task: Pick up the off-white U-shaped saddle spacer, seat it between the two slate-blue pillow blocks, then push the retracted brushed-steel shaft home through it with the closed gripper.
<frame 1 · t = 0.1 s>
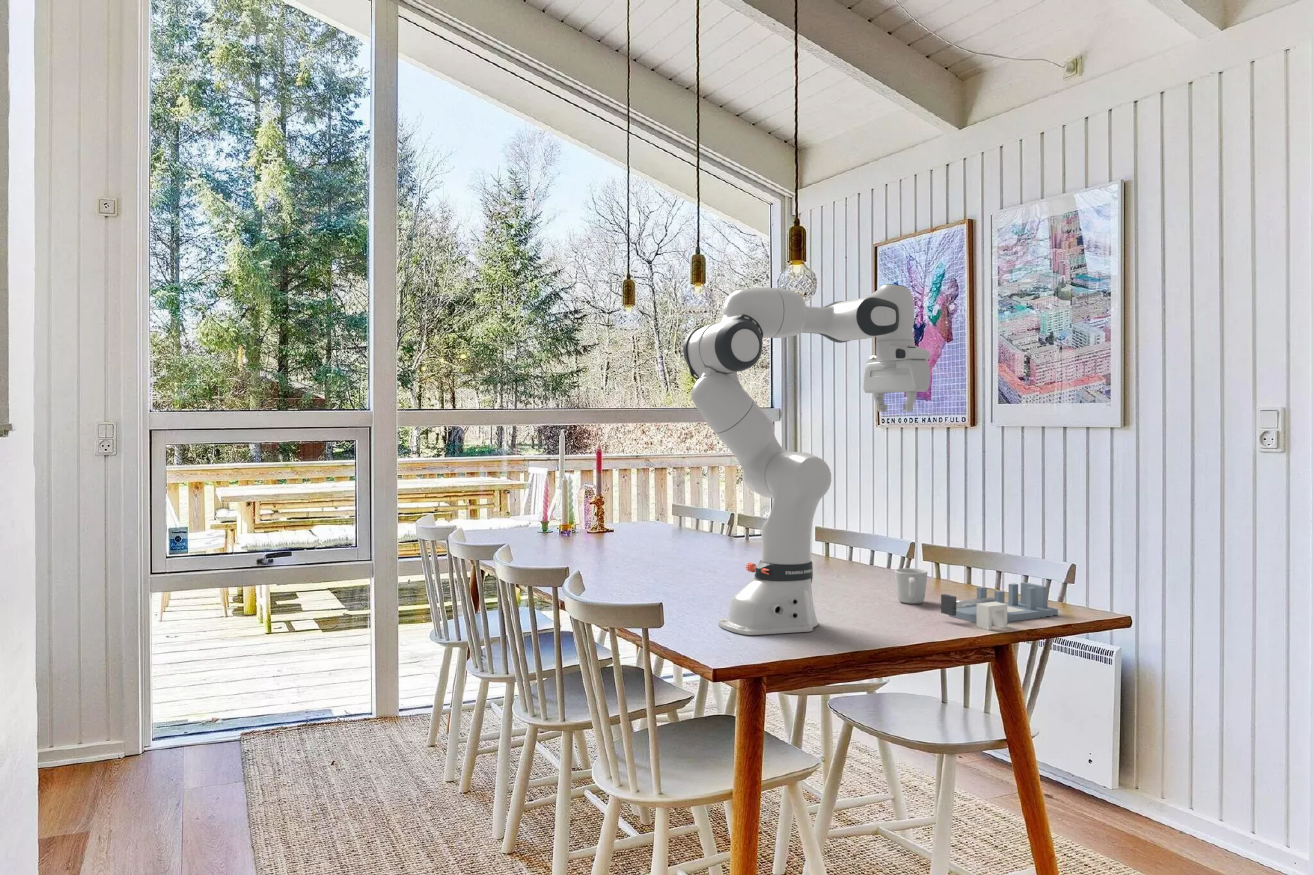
hand: (894, 411, 226), 48 cm above the table, fingers open, 8 cm apart
shaft: (969, 602, 217), point 4 cm above the table, slide at 0.0 cm
cup: (911, 604, 237), on the table
spacer: (991, 627, 210), on the table
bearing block: (1004, 615, 222), on the table
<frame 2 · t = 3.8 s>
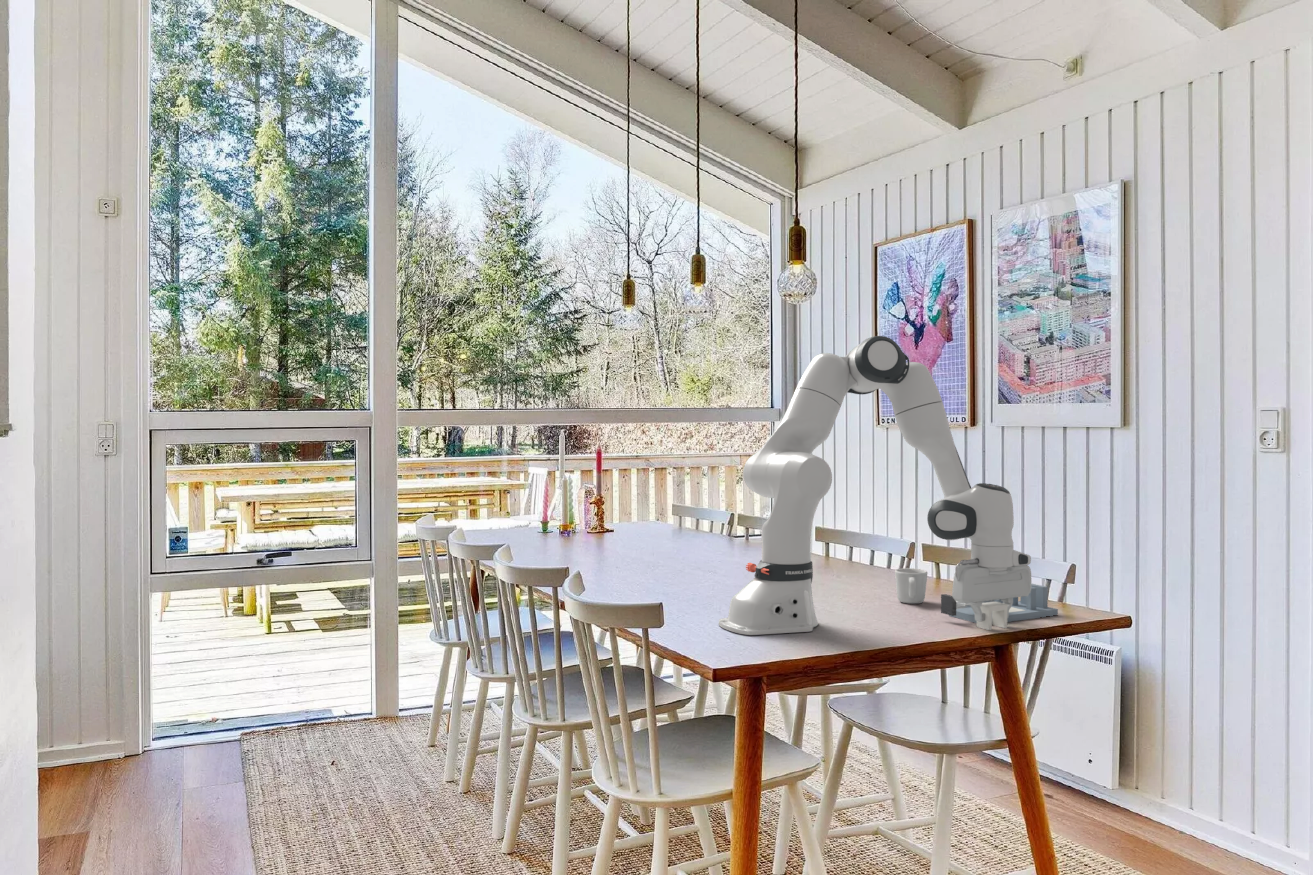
hand: (991, 619, 210), 2 cm above the table, fingers closed on spacer, 5 cm apart
spacer: (991, 627, 210), on the table, touching gripper
everything else where it was.
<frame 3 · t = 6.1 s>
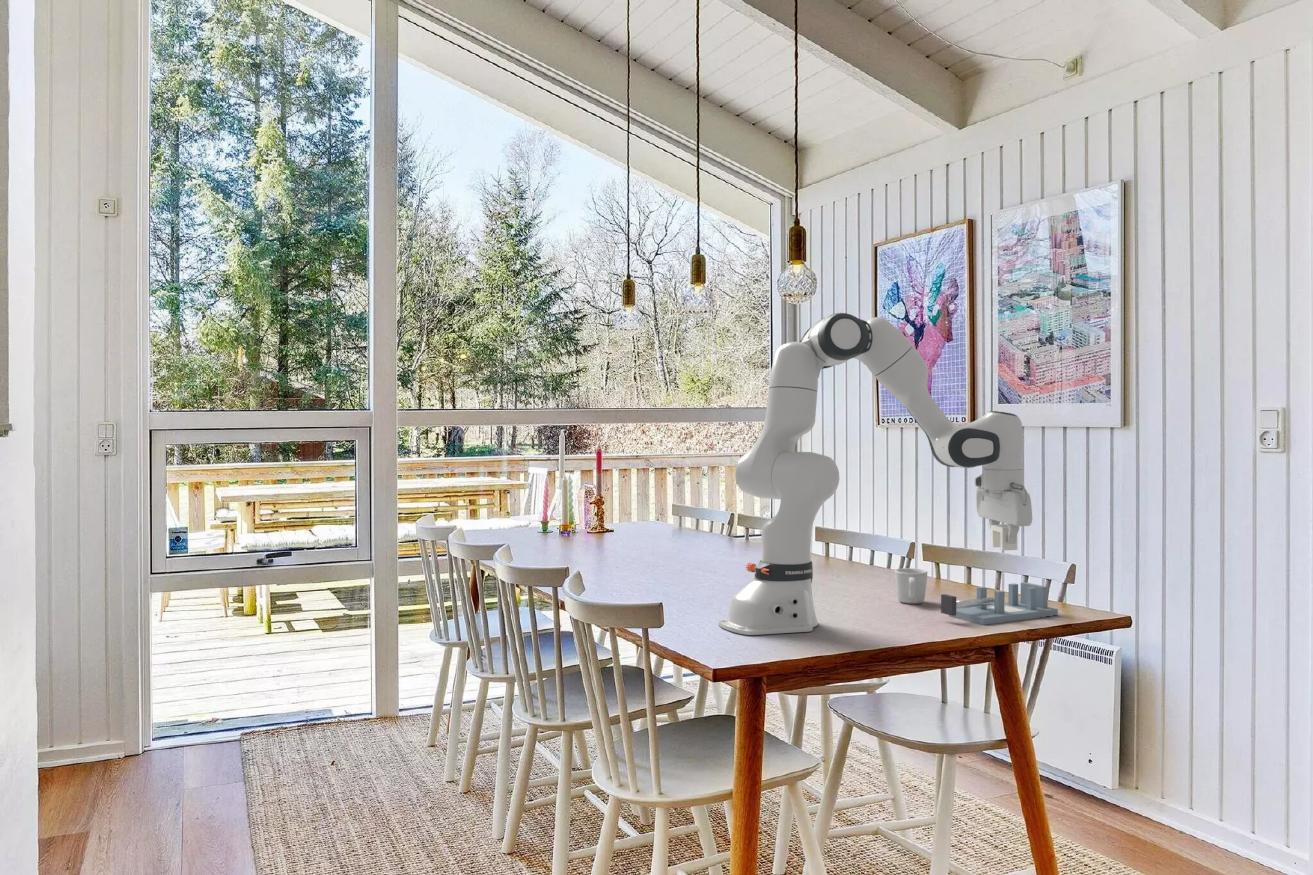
hand: (1003, 541, 219), 18 cm above the table, fingers closed on spacer, 5 cm apart
spacer: (1004, 548, 219), point 16 cm above the table, touching gripper
everything else where it was.
when the fingers open (4 cm above the table, at t = 8.4 s): spacer drops 1 cm, resting on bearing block.
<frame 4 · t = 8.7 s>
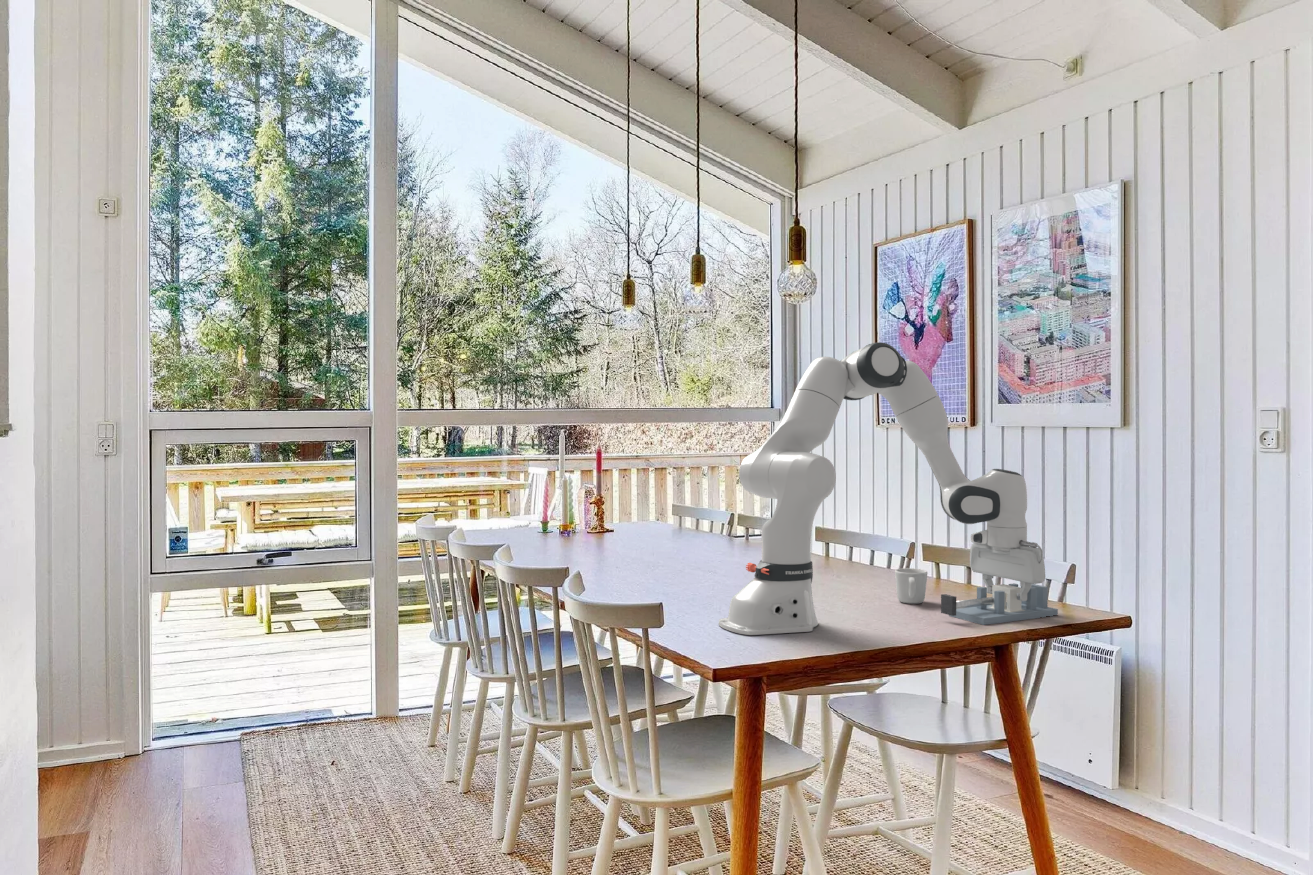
hand: (1006, 597, 222), 4 cm above the table, fingers open, 8 cm apart
spacer: (1006, 608, 222), point 2 cm above the table, touching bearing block
everything else where it was.
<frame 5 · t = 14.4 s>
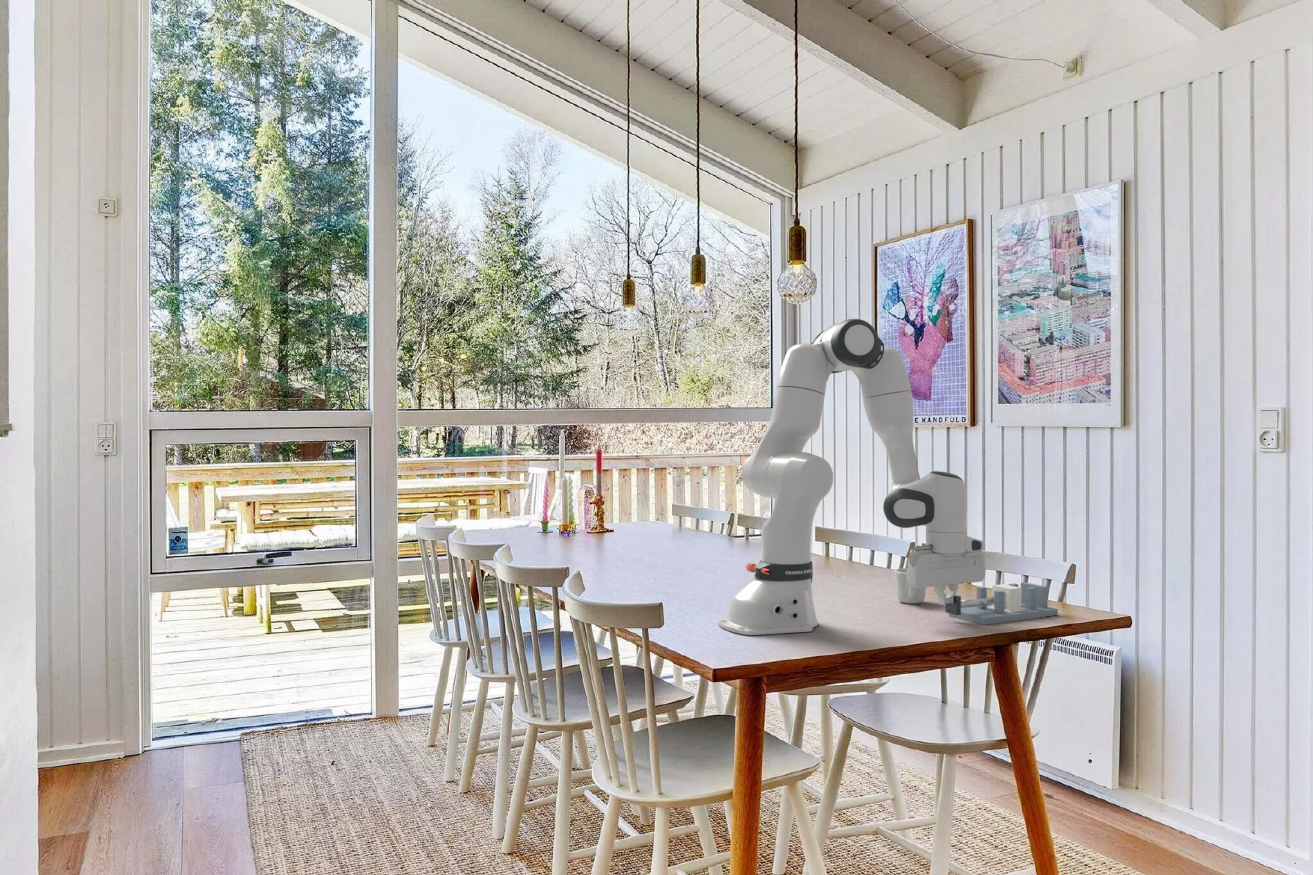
hand: (946, 604, 214), 4 cm above the table, fingers closed
shaft: (974, 601, 218), point 4 cm above the table, slide at 1.3 cm, touching gripper
everything else where it was.
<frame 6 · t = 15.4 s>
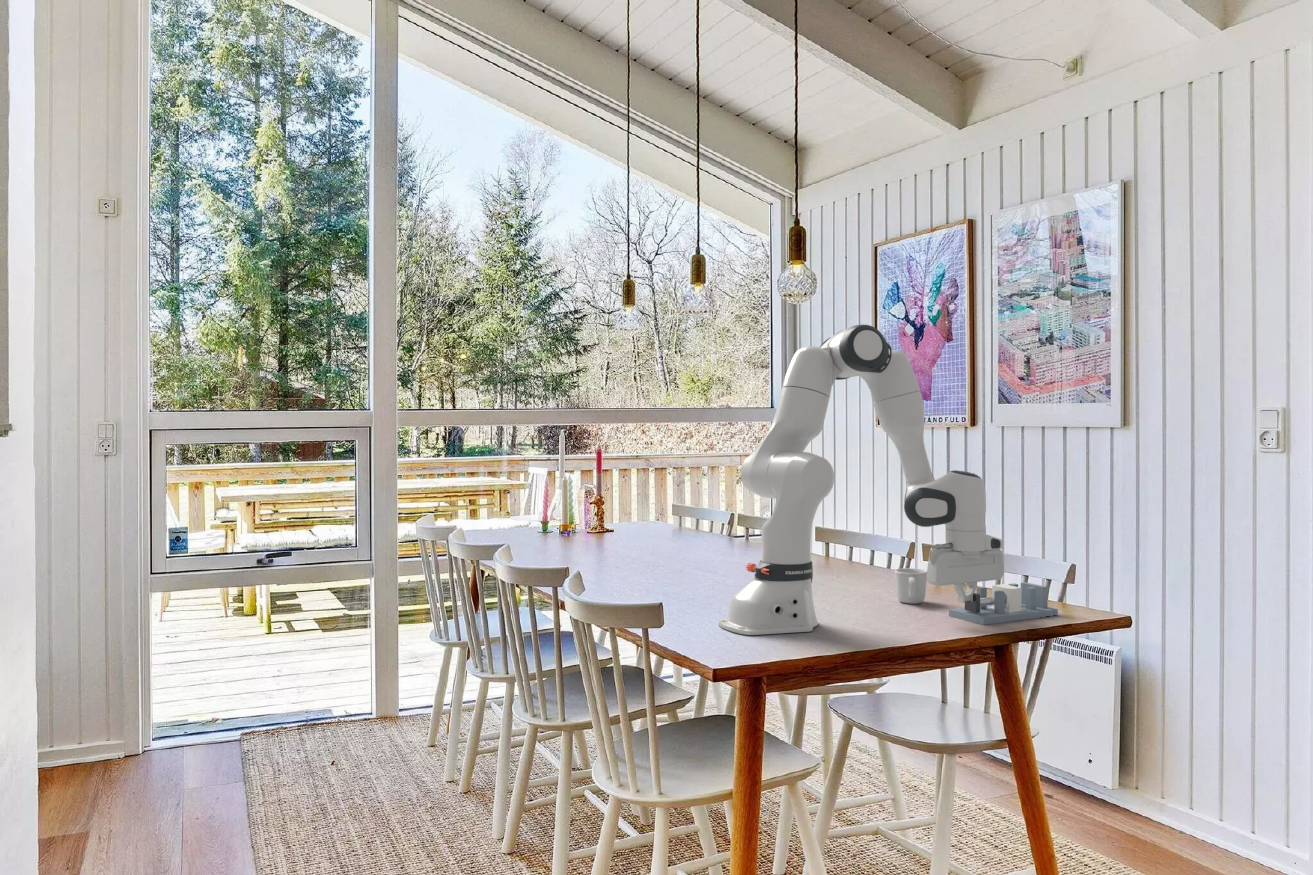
hand: (965, 601, 217), 4 cm above the table, fingers closed
shaft: (992, 599, 220), point 4 cm above the table, slide at 7.1 cm, touching gripper
everything else where it was.
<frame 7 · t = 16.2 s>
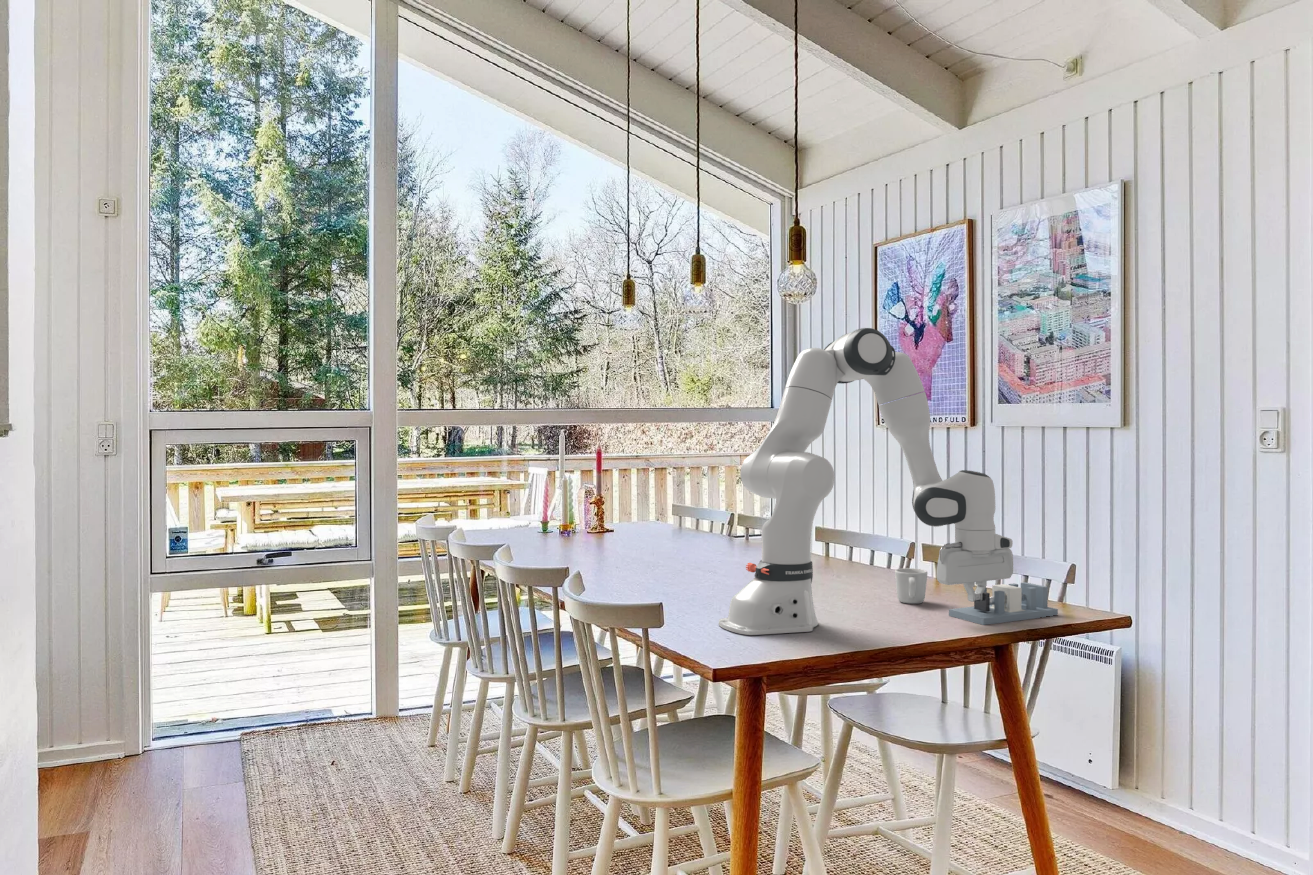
hand: (975, 600, 218), 4 cm above the table, fingers closed
shaft: (1002, 598, 222), point 4 cm above the table, slide at 9.9 cm, touching gripper
everything else where it was.
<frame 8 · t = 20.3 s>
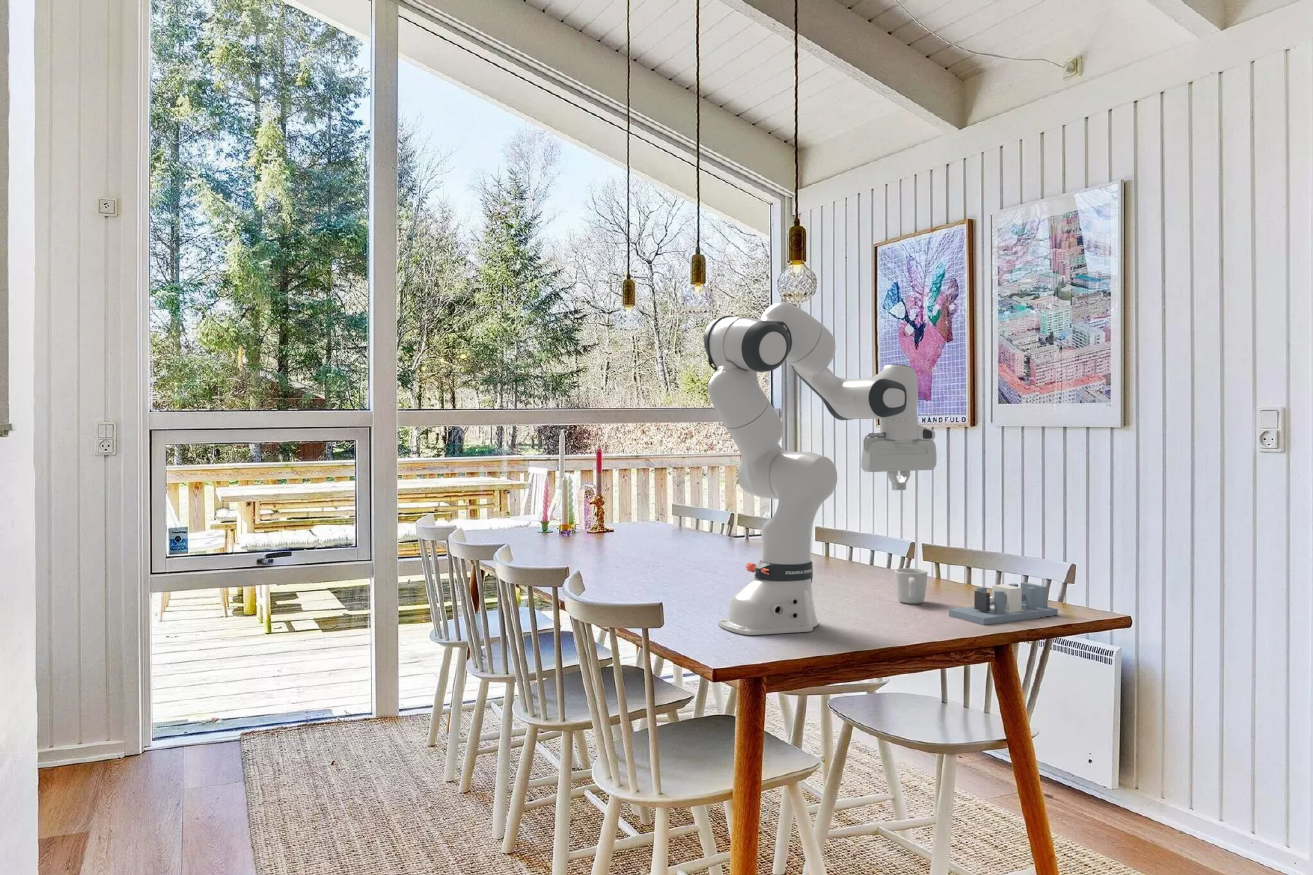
hand: (899, 490, 227), 29 cm above the table, fingers closed
shaft: (1002, 598, 222), point 4 cm above the table, slide at 10.0 cm
everything else where it was.
at the end: shaft slide at 10.0 cm; spacer 0.1 cm off-centre on the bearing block, point 1.5 cm above the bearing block's base; spacer tilted 0° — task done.
